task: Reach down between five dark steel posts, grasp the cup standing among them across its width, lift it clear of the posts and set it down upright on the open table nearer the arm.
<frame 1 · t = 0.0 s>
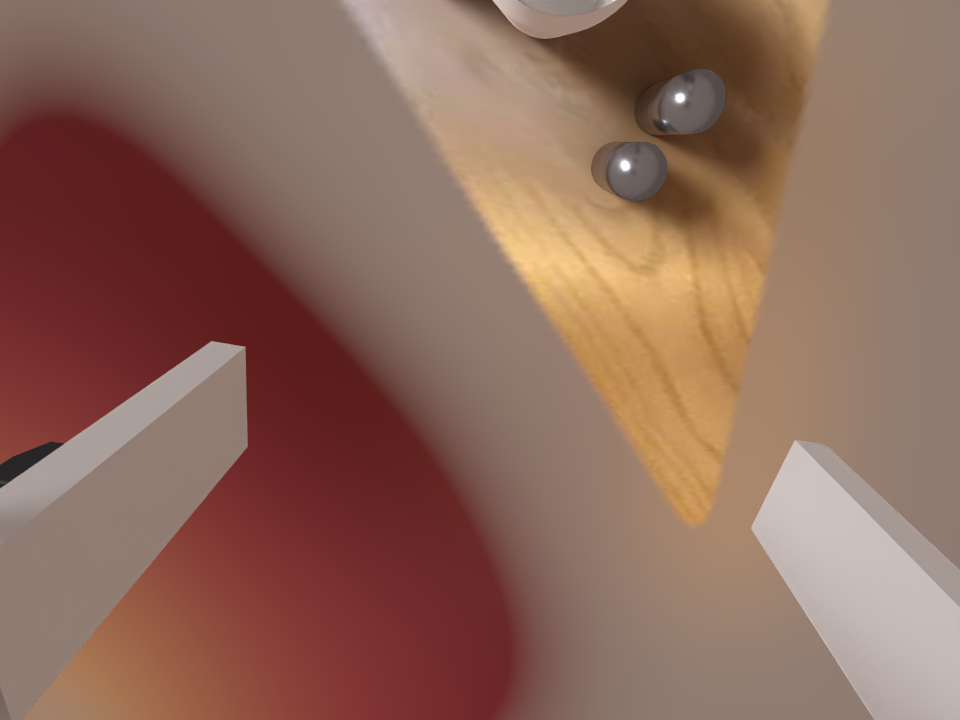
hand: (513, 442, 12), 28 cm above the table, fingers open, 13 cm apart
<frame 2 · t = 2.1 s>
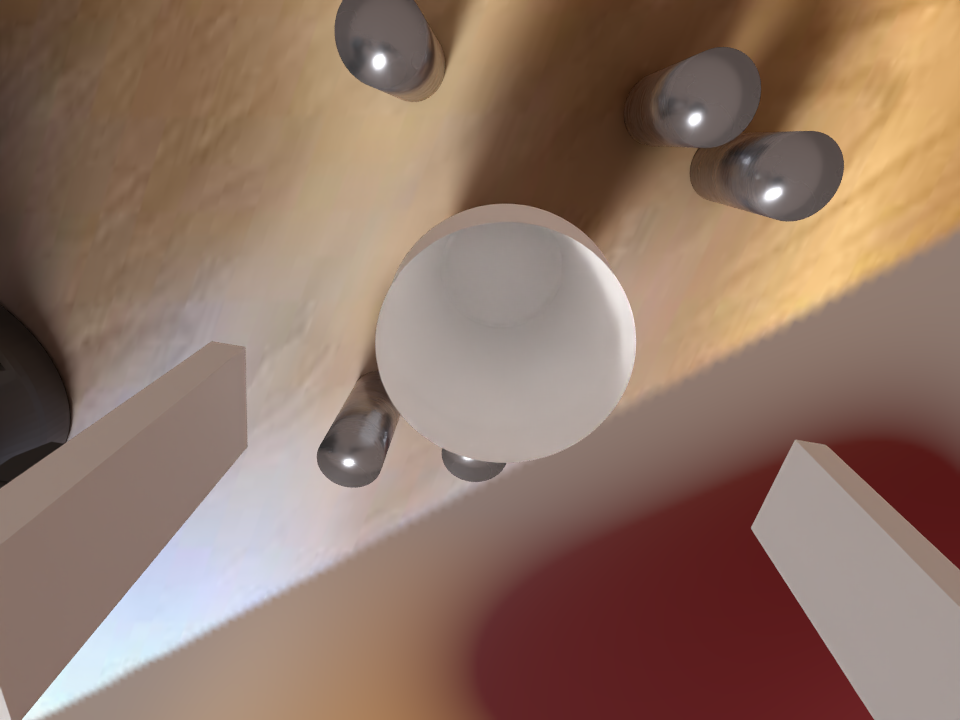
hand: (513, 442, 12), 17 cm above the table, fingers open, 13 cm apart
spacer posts: (501, 269, 28), on the table
cup: (501, 268, 28), on the table
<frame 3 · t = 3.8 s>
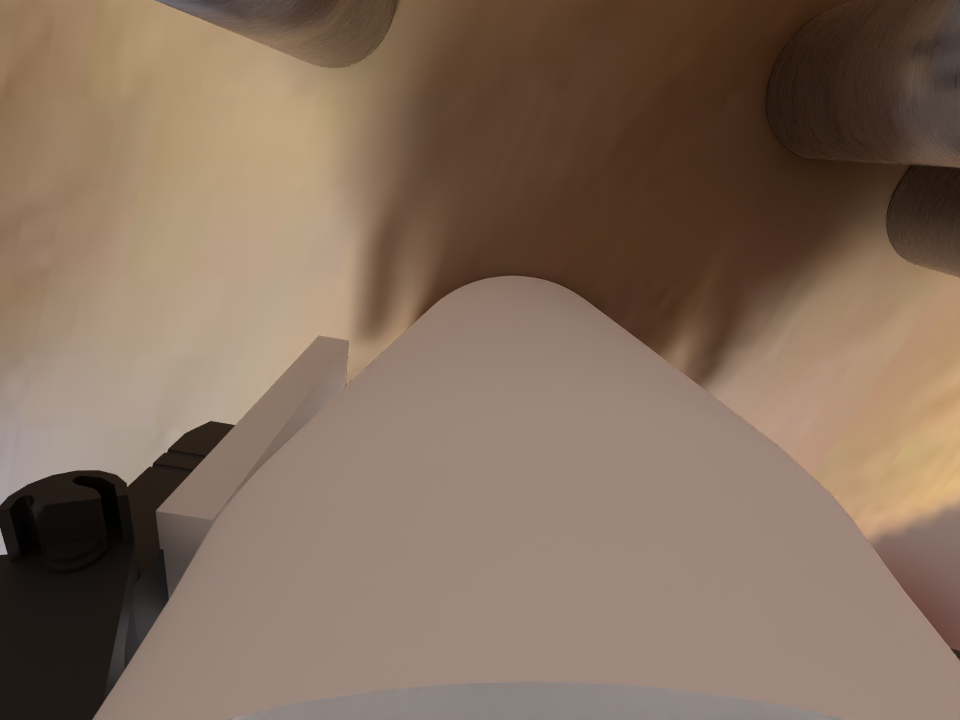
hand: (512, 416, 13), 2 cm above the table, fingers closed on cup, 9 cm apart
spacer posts: (510, 383, 15), on the table
cup: (510, 379, 15), on the table, touching gripper
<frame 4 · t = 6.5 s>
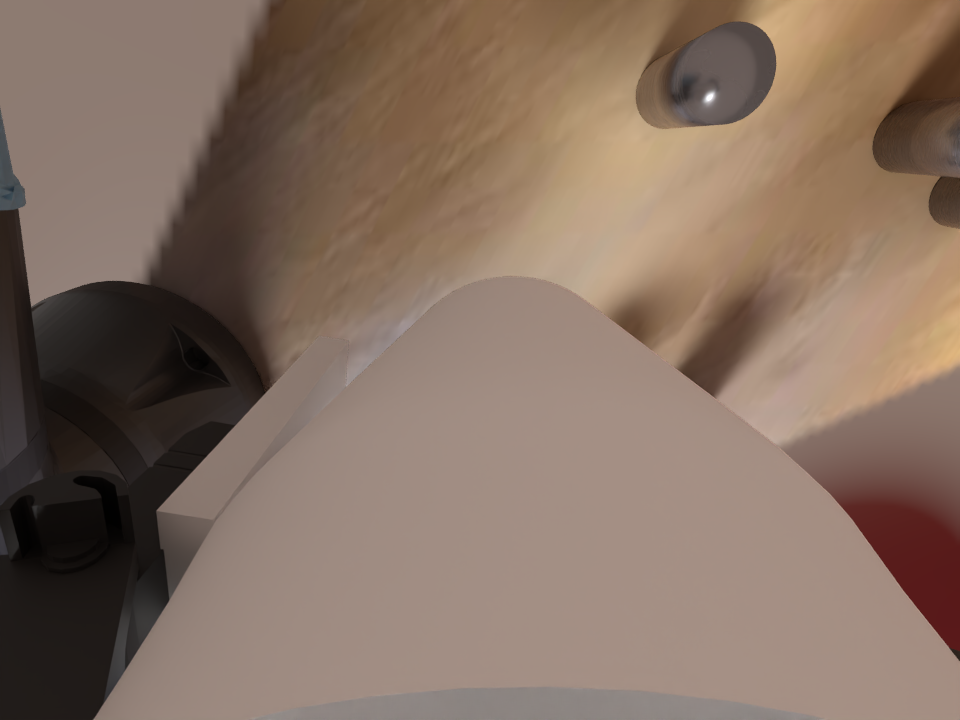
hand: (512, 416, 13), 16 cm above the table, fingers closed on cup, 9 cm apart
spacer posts: (722, 291, 28), on the table
cup: (510, 380, 15), point 14 cm above the table, touching gripper
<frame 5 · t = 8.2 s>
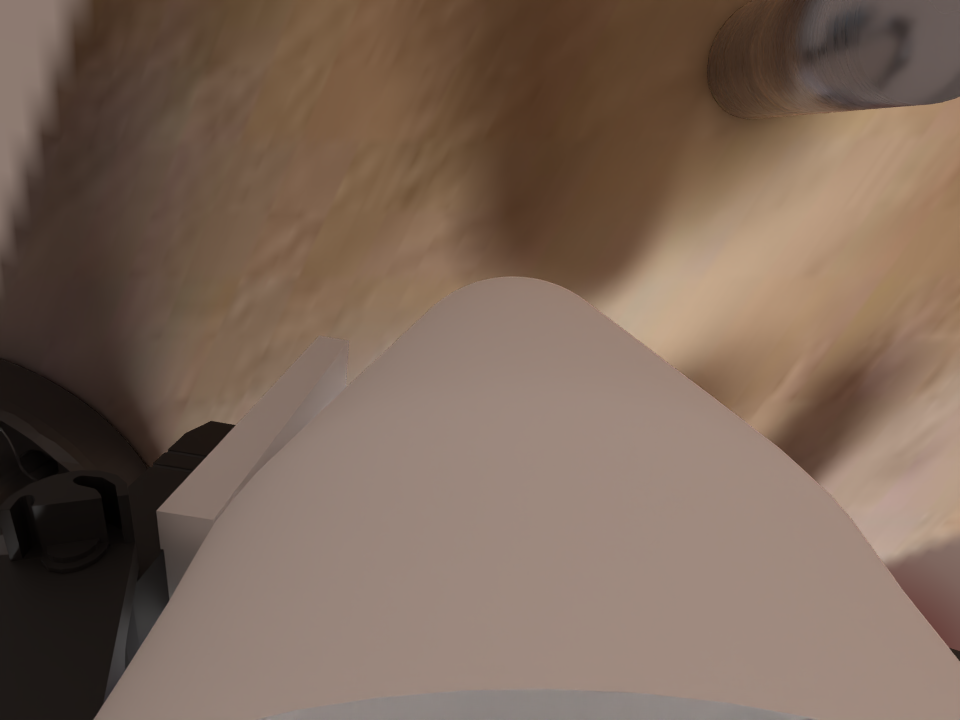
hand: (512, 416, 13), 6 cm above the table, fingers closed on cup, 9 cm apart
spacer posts: (821, 360, 19), on the table
cup: (510, 380, 15), point 4 cm above the table, touching gripper
when the fingers open (3 cm above the table, at t = 9.3 s): cup drops 1 cm, on the table.
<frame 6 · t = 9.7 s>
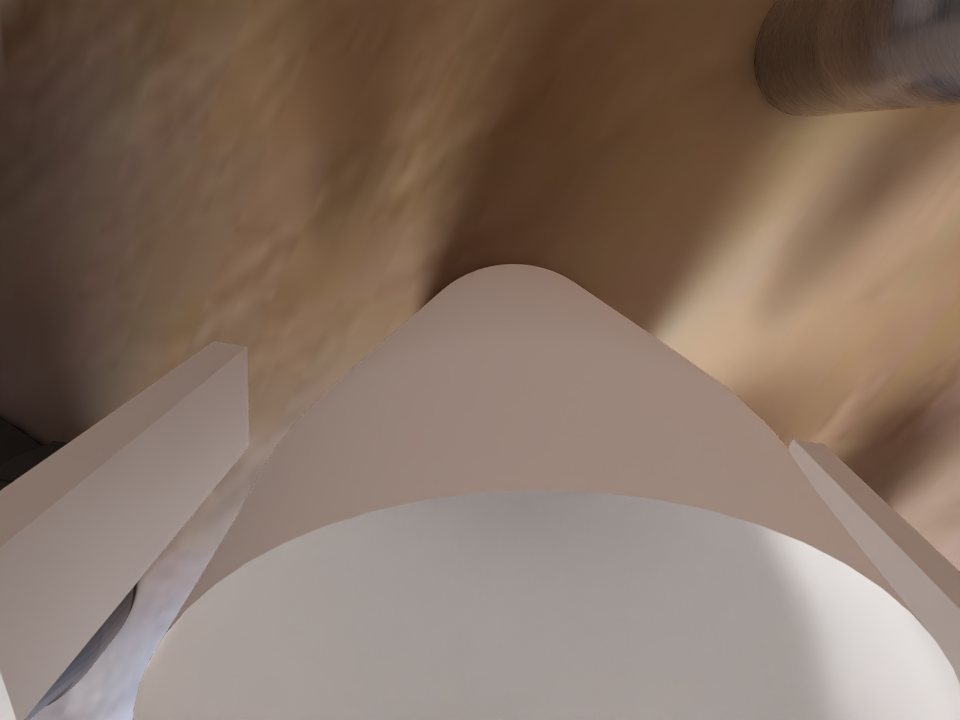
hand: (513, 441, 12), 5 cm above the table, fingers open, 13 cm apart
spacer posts: (876, 396, 16), on the table
cup: (511, 360, 17), on the table
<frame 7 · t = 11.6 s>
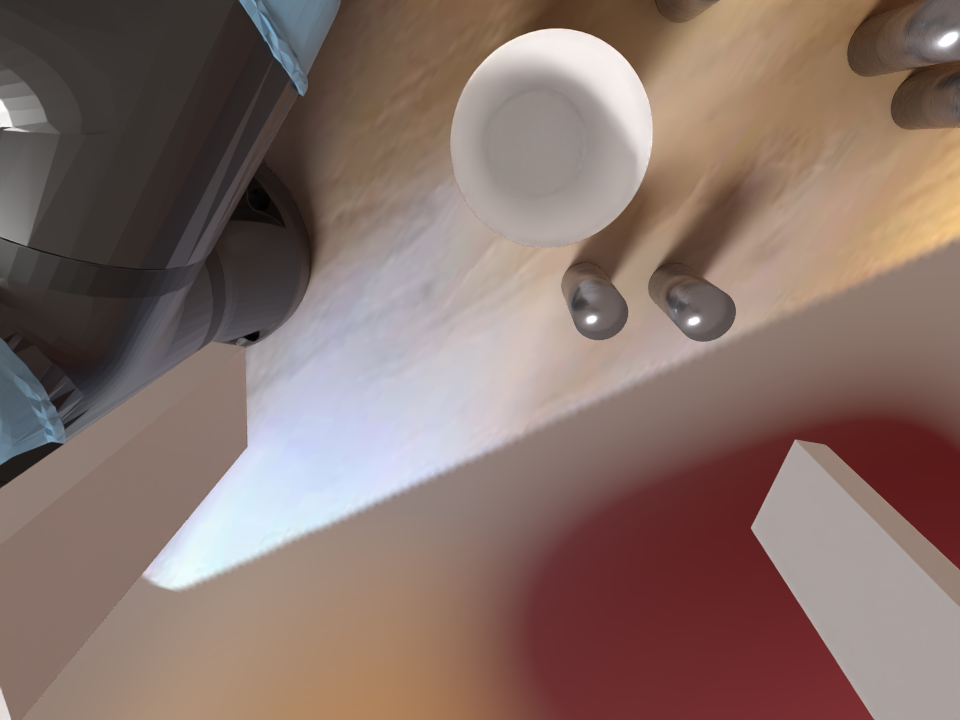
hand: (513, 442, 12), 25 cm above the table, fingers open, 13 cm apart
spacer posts: (715, 176, 33), on the table
cup: (535, 145, 33), on the table
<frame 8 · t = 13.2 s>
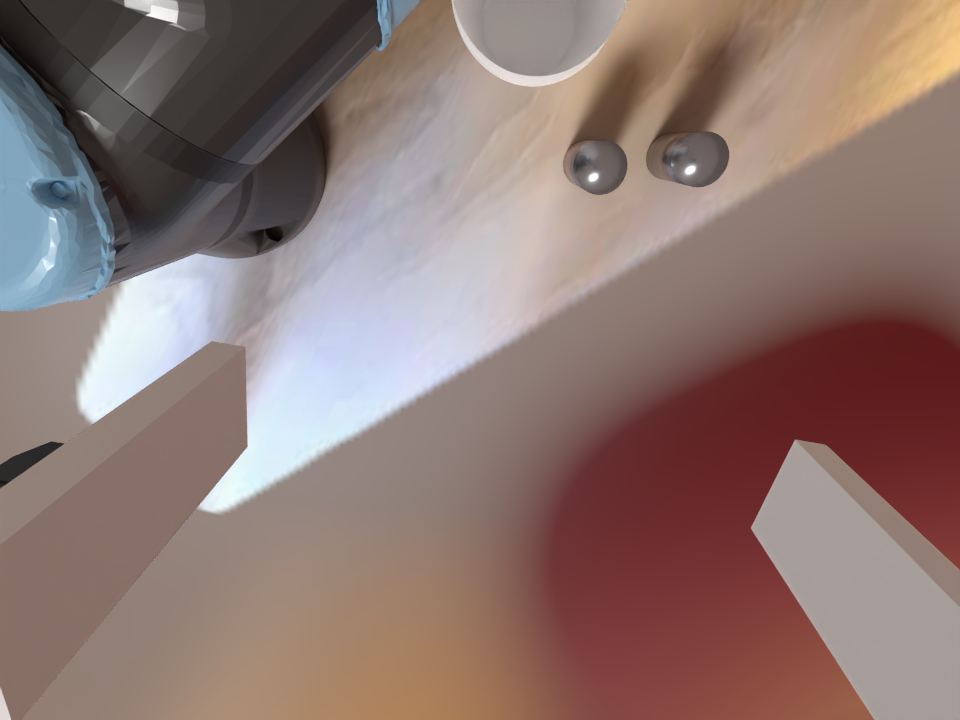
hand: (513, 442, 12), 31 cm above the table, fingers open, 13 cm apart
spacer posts: (702, 40, 35), on the table
cup: (528, 25, 35), on the table
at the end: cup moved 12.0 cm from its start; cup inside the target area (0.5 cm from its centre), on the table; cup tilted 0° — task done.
